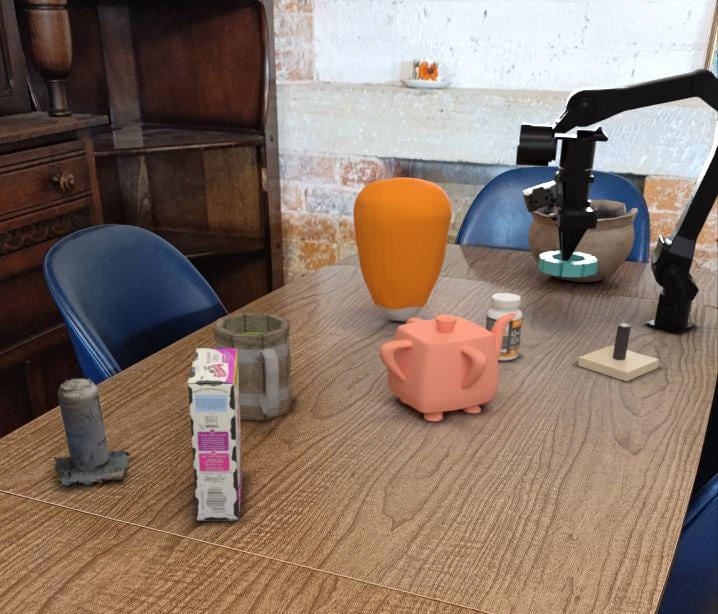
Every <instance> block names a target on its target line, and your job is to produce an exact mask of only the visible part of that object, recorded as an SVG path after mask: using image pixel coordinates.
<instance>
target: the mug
mask: <svg viewBox="0 0 718 614" xmlns="http://www.w3.org/2000/svg"><path fill="white" fill-rule="evenodd" d="M290 328H291V320H290V319H287V318H285V317H283V316H281V315H277V314H275V313H269V312H239V313H235V314H232V315H228V316H227V315H226V316H223V317H219V318H217V320H216V322H215V324H214V325H213V327H212V329H213V336H214V341H215V348H237V349H238V371H239V396H240V420H245V421H246V420H248V421H249V420H250V421H267V420H270V419H273V418H276V417H279V416H281V415H285V414H289V413H290V410H291V407H292V402H293V399H292V391H291V367H292V359H291V358H292V357H291V350H290V348H291V347H290Z"/></svg>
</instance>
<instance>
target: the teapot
mask: <svg viewBox="0 0 718 614" xmlns="http://www.w3.org/2000/svg"><path fill="white" fill-rule="evenodd" d="M516 315H517V313H510V314H506V315H503V316H501V317H500V318H499V319H498V320H497V321H496V322H495V324H494V326H493V328H492V330H491V332H490V331H488V330H486V327H485V328H484V327H483V326H481V325H479V324H477V323H475V322H473V321H471V320H468V319H466V318H464V317H461V316H455V315H453V314H446V313H445V314H439V315H436V316H434V318H433V319H426V320H424V319H422V318H419V317H414V318H409V319H408V320H406V323H405V324H401V325H398V327H397V328H396V331H395V334H394V337H393V340H391V341H389V342H386V343H383V344H382V345H381V346H380V348H379V350H378V351H379V357H380V359H381V361H382V363H383V364H384V366H385V368H387V371H386V372H387V374H386V379H387V383H388V387H389V391H390V392H391V393H392V394H393V395H395V396H396V397H397V398H399V399H400V402H401V403H402V404H404V405H408V406H410V407H411V408H413V409H415V410H416V411H418V412H420V413H422V414H424V415H423V419H424V420H426V421H428V422H429V421H430V422H439V421H442V420H443V418H444V413H445V412H451V411H457V410H458V411H459V410H462V411H463V412H465V413H468V414H478V413H481V411H482V409H481V407H480V406H479V405H483V404H485V403H489V402H491V401H493V400H494V398H495V395H496V394H497V391H498V387H499V374H500V373H499V360H498V358H499V355H500V352H501V346H502V340H503V335H504V331H505V329H506V326H507V325H508V323H509V322H510V321H511V320H512V319H513V318H514V317H515V316H516Z"/></svg>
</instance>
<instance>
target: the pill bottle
mask: <svg viewBox="0 0 718 614" xmlns="http://www.w3.org/2000/svg"><path fill="white" fill-rule="evenodd" d="M521 301H522V298H521V296H520V295H518V294H515V293H509V292H499V293H494V294H492V295H491V298H490V304H491V307H490V308H489V310H488V311H487V313H486V318H485V320H486V321H485V329H486V330H488V331H490V332H491V330H492V328H493V326H494V324H495V322H496V321H497V320H498V319H499V318H500V317H501V316H503V315H506V314H510V313H517V315H516V316H515V317H514V318H513V319H512V320H511V321H510V322H509V323H508V325H507V326H506V329H505V331H504V335H503V340H502V346H501V352H500V355H499V358H498V361H503V362H504V361H505V362H506V361H511V360H515V359H516V358H518V356H519V352H520V343H521V334H522V324H523V318H524V317H523V312H522V311H521V310H520V309H519V308H520V306H521Z"/></svg>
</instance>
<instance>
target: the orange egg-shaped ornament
mask: <svg viewBox="0 0 718 614" xmlns="http://www.w3.org/2000/svg"><path fill="white" fill-rule="evenodd" d="M352 214H353V215H352V216H353V226H354V236H355V243H356V248H357V253H358V261H359V267H360V271H361V275H362V278H363V280H364V284H365V286H366V287H367V290H368V292H369V294H370V297H371V300H372V302H373V303H374V305H375V306H376V307H377V308H378V309H379V310H380V311H381V312H382V314H383V315H384V316H385V317H386V319H389V320H391V321H394V322H405V321H406V322H407V320H408V319H409V318H414V317H415V318H417V316H418V315H419V314H420V312H421V310H422V309H423V308H424V306H425V305H426V304H427V303H428V300H429V298H430V296H431V294H432V292H433V290H434V287H436V286H435V285H436V283H437V281H438V279H439V277H440V273H441V271H442V268H443V264H444V261H445V257H446V251H447V245H448V240H449V239H448V238H449V234H450V233H449V232H450V228H451V223H452V217H453V207H452V203H451V200H450V198H449V196H448V194H447V192H445V190H444V189H443V188H442V186H440V185H438V184H436V183H435V182H432V181H430V180H425V179H421V178H415V177H393V178H392V177H391V178H387V179H380V180H376V181H372V182H369V183H368V184H367V185H365V186H364V187H363V188H362V189H361V190H360V192H359V193H358V194H357V196H356V198H355V201H354V205H353V213H352Z"/></svg>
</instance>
